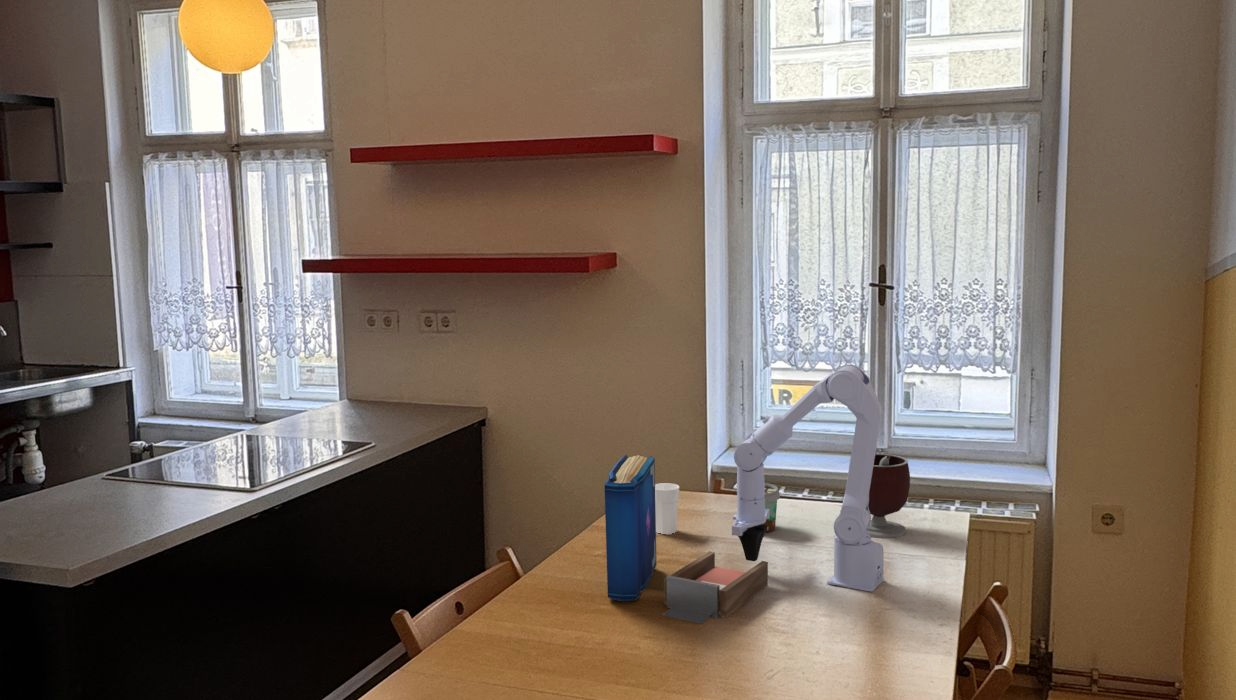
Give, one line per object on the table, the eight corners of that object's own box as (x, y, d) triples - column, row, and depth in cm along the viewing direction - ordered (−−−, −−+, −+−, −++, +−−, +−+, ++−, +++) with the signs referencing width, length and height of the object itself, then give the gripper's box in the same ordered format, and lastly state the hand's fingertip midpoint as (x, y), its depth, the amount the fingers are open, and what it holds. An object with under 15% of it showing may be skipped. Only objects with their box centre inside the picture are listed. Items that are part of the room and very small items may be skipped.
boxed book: (756, 591, 199) (756, 573, 199) (725, 614, 187) (725, 596, 187) (715, 583, 204) (715, 566, 204) (683, 605, 192) (682, 587, 192)
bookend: (719, 616, 185) (719, 585, 185) (707, 625, 181) (707, 593, 181) (669, 605, 191) (669, 575, 191) (656, 614, 187) (655, 583, 186)
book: (639, 606, 191) (636, 479, 188) (603, 604, 193) (600, 478, 190) (657, 568, 212) (655, 454, 209) (624, 566, 214) (622, 453, 211)
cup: (647, 529, 240) (646, 485, 238) (671, 525, 242) (671, 481, 241) (660, 537, 234) (659, 491, 232) (684, 533, 237) (684, 488, 235)
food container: (783, 536, 233) (783, 494, 232) (757, 536, 233) (757, 494, 232) (776, 520, 245) (776, 481, 244) (751, 521, 245) (751, 481, 244)
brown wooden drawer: (767, 585, 201) (767, 561, 200) (725, 617, 185) (725, 591, 184) (709, 574, 208) (709, 551, 207) (664, 604, 192) (664, 579, 191)
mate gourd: (843, 521, 243) (844, 441, 241) (901, 521, 243) (902, 441, 240) (856, 541, 228) (857, 456, 226) (917, 541, 227) (919, 455, 225)
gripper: (748, 486, 216) (748, 547, 217) (718, 503, 204) (719, 567, 205) (778, 490, 212) (778, 552, 214) (749, 507, 200) (750, 572, 201)
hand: (751, 559), depth 209 cm, fingers closed
